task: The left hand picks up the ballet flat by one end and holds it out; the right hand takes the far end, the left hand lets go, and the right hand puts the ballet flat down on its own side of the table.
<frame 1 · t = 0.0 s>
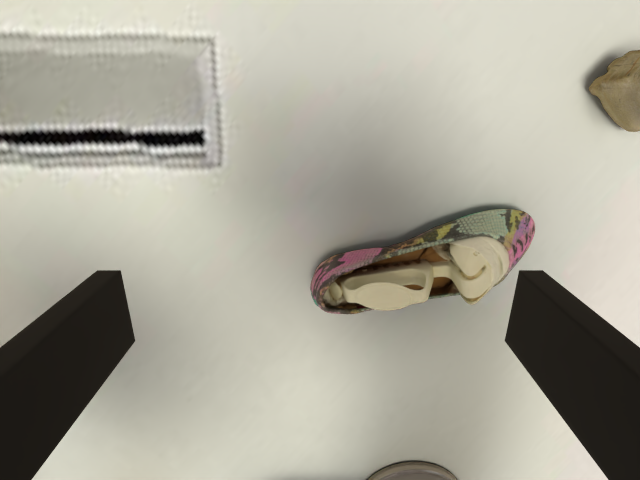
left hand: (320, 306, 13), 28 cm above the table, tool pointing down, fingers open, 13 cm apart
ballet flat: (416, 256, 43), on the table
sculpture: (616, 92, 37), on the table
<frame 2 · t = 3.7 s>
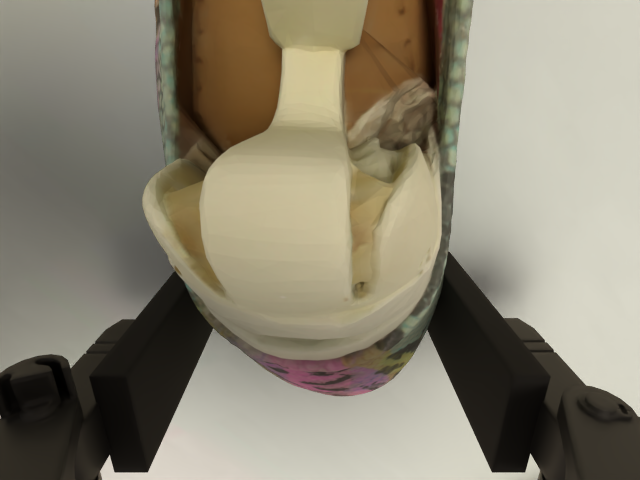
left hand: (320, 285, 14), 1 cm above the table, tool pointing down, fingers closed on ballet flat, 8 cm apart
ballet flat: (312, 44, 12), on the table, touching left hand
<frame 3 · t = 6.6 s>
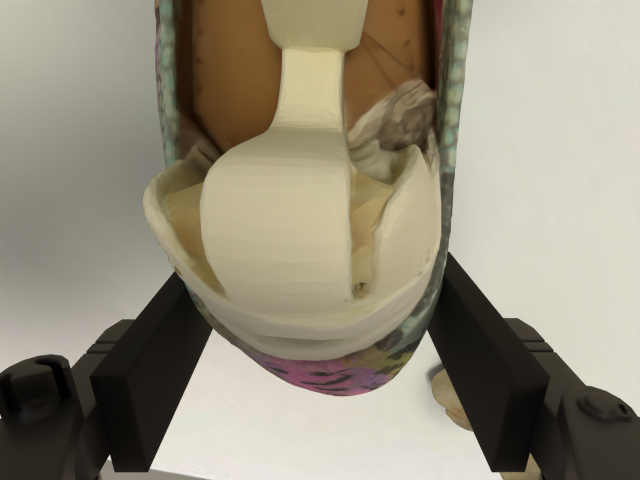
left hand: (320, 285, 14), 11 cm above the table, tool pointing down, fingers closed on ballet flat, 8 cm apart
ballet flat: (312, 44, 12), point 11 cm above the table, touching left hand
sculpture: (474, 368, 30), on the table
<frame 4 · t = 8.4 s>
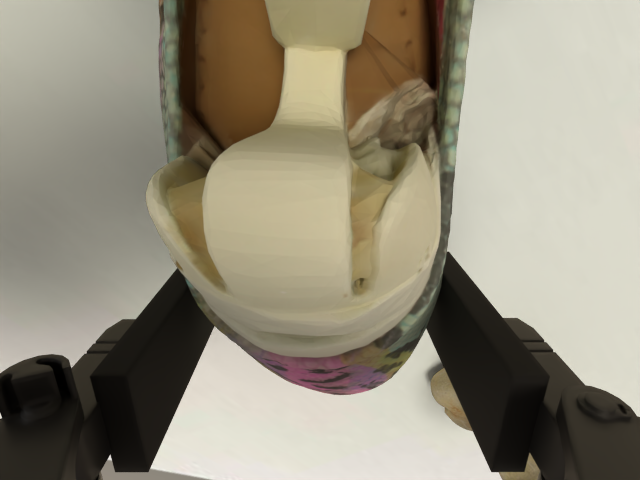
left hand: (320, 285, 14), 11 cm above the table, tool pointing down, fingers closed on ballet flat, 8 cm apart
ballet flat: (314, 44, 12), point 11 cm above the table, touching left hand, right hand
sculpture: (473, 367, 30), on the table
when the left hand's fingers open (11 cm above the table, at t = 9.5 s): ballet flat stays where it is, held by the right hand.
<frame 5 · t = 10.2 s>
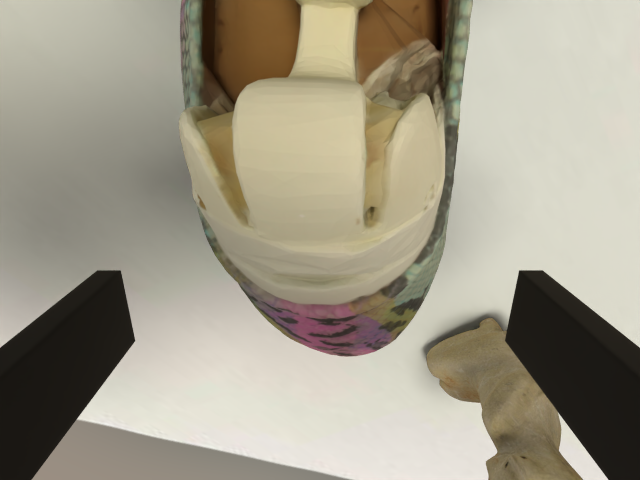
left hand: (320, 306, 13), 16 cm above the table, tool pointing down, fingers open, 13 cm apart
ballet flat: (325, 15, 13), point 13 cm above the table, touching right hand
sculpture: (467, 344, 32), on the table
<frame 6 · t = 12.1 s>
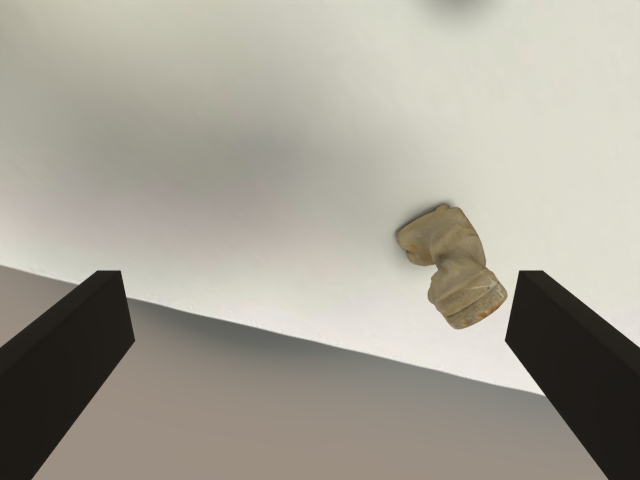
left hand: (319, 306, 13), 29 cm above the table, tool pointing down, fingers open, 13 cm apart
sculpture: (428, 228, 42), on the table
when the right hand's fingers open (4 cm above the table, at t = 15.8 s): ballet flat stays where it is, on the table.
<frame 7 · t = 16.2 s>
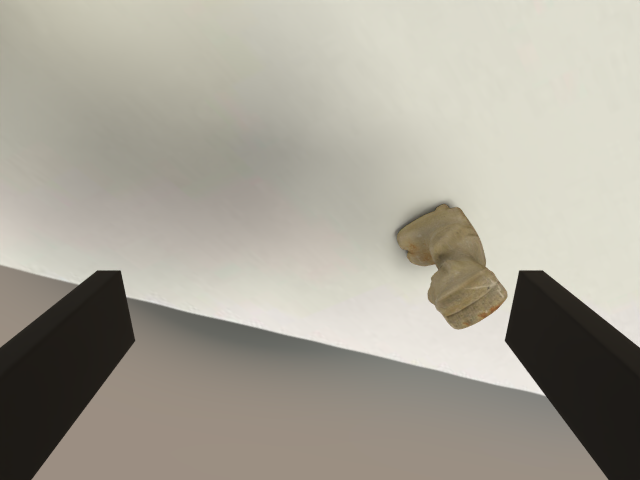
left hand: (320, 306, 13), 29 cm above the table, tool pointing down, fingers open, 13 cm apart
sculpture: (428, 228, 42), on the table
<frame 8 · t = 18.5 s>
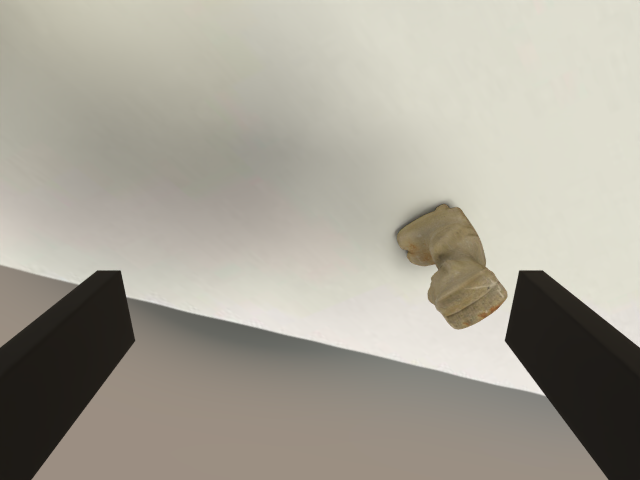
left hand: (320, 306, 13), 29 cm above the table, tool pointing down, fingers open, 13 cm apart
sculpture: (428, 228, 42), on the table
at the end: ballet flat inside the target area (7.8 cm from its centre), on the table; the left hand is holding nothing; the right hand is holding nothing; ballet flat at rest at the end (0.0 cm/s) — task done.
